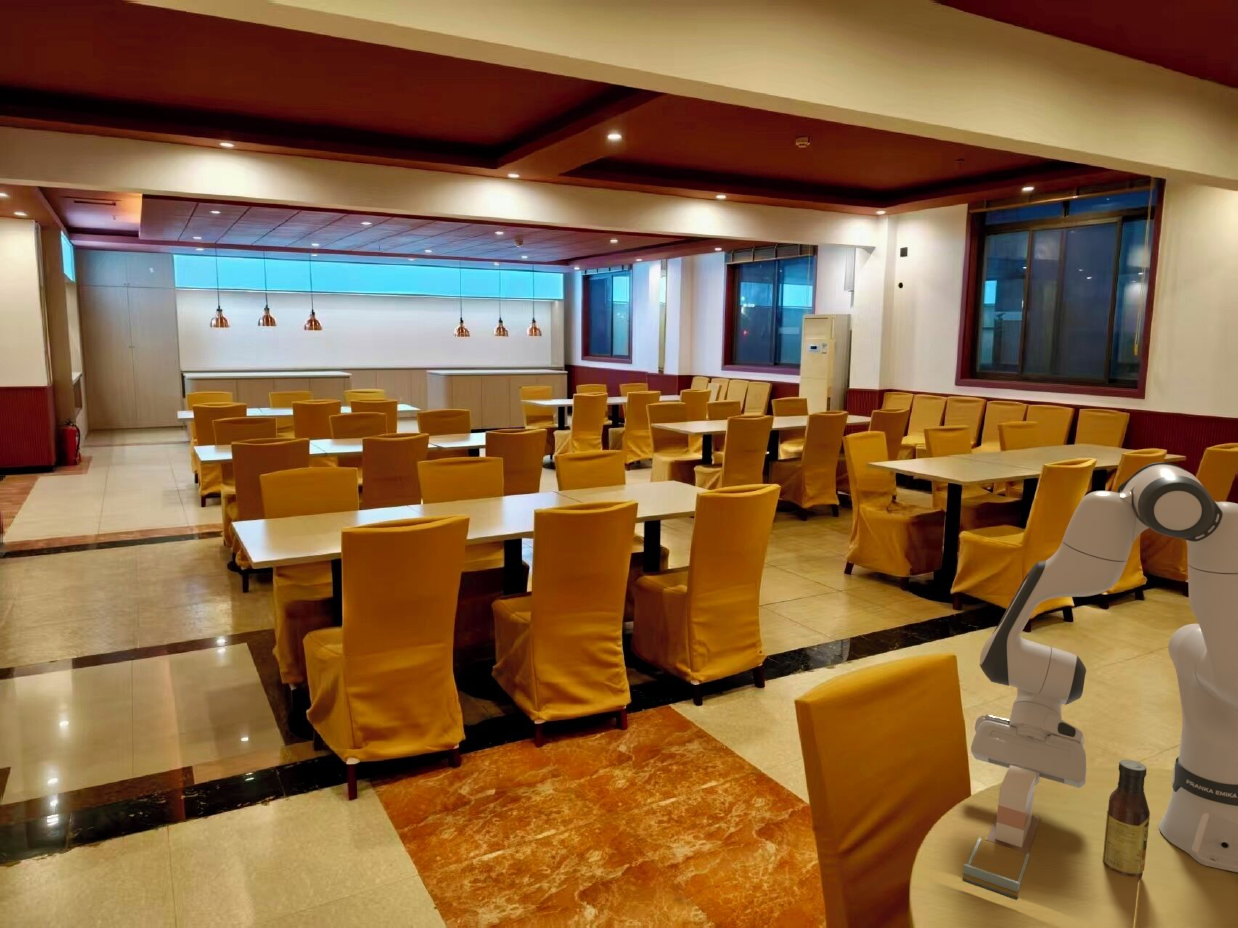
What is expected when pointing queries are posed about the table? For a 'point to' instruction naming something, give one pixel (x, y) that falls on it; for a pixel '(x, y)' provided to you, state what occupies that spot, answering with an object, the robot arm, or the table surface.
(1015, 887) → the tray
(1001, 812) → the tile stack
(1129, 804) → the sauce bottle
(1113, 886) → the table surface
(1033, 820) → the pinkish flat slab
